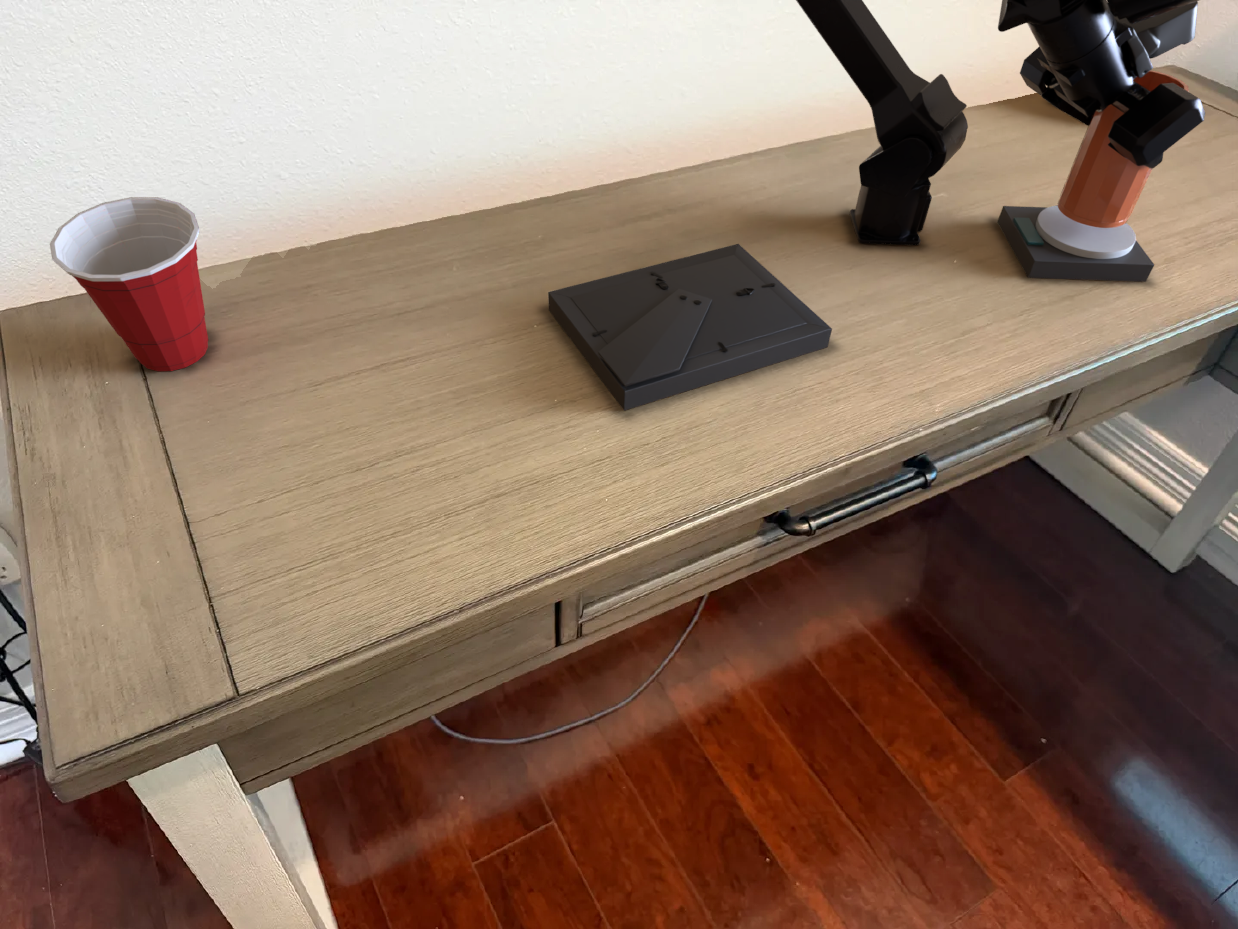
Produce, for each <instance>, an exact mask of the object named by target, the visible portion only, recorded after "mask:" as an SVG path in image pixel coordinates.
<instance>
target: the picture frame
mask: <svg viewBox="0 0 1238 929" xmlns="http://www.w3.org/2000/svg"><path fill="white" fill-rule="evenodd" d="M547 298H548V299H547V302H548V303H547V304H548V312H549V313H550V314H551V315H552V317H553V318H554V319H555V321H556V322H557V323H558V325H559V326H560V328H561V329H562V331H563V332H564V333H565V335H566V336H567V337H568V338H569V340H570V341H571V342H572V343H573V345H574V346H575V348H576V349H577V350H578V351H579V353H580V354H581V356H582V357H583V358H584V359H585V361H586V362H587V363H588V364H589V366H590V367H591V369H592V370H593V372H594V373H595V374H596V375H597V377H598V378H599V379H600V381H601V383H603V385H604V386H605V387H606V389H607V390H608V392H609V393H610V394H611V395H612V397H613V398H614V399H615V401H616V402H617V403H618V405H619V406H620V408H621V409H622V410H623V412H624V411H628V410H632V409H634V408H638V407H640V406H643V405H648V404H651V403H654V402H656V401H660V400H663V399H666V398H670V397H672V396H675V395H676V396H677V395H679V394H683V393H686V392H688V391H692V390H695V389H698V388H701V387H705V386H708V385H711V384H714V383H718V382H721V381H725V380H727V379H730V378H733V377H737V376H740V375H744V374H747V373H749V372H753V371H756V370H759V369H762V368H766V367H768V366H772V365H775V364H778V363H781V362H785V361H788V360H791V359H794V358H798V357H801V356H804V355H807V354H810V353H814V352H817V351H820V350H824V349H826V348H828V347H829V343H830V339H831V335H832V330H833V328H832V327H831V326H830V325H829V324H827V323H826V321H824V320H823V318H821V317H820V316H819V315H818V314H817V313H816V312H815V311H813V310H812V309H811V308H810V307H809V306H808V305H807V304H805V302H804V301H802V300H801V299H800V298H799V297H798V296H797V295H796V294H795V293H793V291H792V290H790V289H789V288H788V287H787V286H786V285H784V284H783V283H782V282H781V281H780V279H778V278H777V277H776V276H775V275H774V274H772V273H771V272H770V271H769V270H768V269H767V268H766V267H765V266H764V265H763V264H762V263H761V262H759V261H758V260H757V259H756V258H755V257H754V256H753V255H751V253H749V252H748V251H747V250H746V249H745V248H744V247H743V246H742V245H740V244H739V243H736V244H731V245H728V246H724V247H719V248H716V249H712V250H708V251H704V252H700V253H695V254H692V255H687V256H684V257H680V258H676V259H671V260H668V261H664V262H661V263H660V262H659V263H655V264H652V265H649V266H644V267H640V268H637V269H633V270H630V271H625V272H621V273H617V274H613V275H610V276H606V277H602V278H601V277H600V278H598V279H593V280H590V281H586V282H582V283H581V282H580V283H577V284H574V285H570V286H566V287H561V288H558V289H555V290H550V291H548V292H547Z"/></svg>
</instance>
